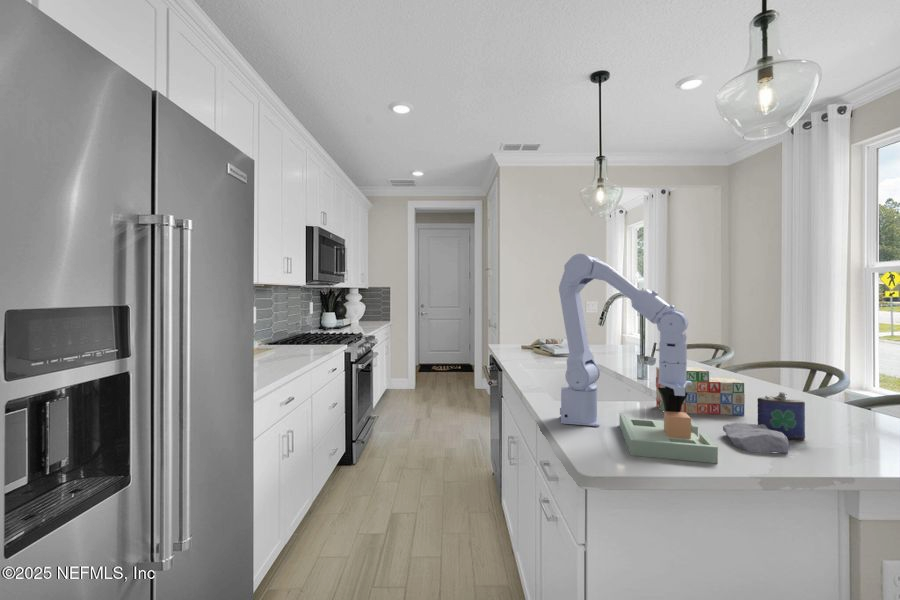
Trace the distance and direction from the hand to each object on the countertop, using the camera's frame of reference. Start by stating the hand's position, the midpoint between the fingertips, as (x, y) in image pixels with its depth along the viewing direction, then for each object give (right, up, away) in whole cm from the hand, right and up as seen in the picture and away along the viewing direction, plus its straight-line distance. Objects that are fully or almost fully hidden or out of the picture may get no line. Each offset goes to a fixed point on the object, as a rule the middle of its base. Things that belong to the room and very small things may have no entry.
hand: (672, 419), depth 99 cm
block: (-1, -2, -4) cm, 5 cm away
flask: (+25, -4, 0) cm, 26 cm away
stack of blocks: (+20, -4, +23) cm, 30 cm away
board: (-4, -4, -3) cm, 6 cm away
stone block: (+16, -5, -4) cm, 17 cm away
